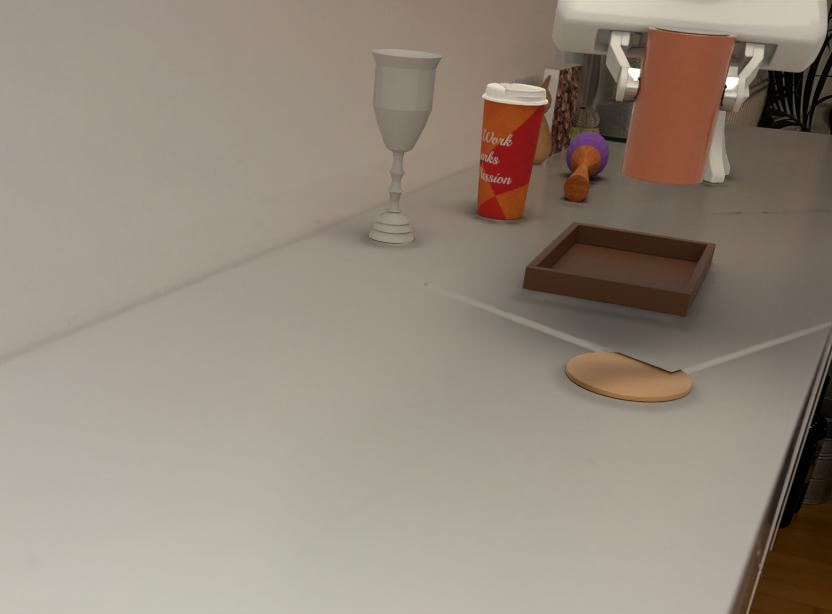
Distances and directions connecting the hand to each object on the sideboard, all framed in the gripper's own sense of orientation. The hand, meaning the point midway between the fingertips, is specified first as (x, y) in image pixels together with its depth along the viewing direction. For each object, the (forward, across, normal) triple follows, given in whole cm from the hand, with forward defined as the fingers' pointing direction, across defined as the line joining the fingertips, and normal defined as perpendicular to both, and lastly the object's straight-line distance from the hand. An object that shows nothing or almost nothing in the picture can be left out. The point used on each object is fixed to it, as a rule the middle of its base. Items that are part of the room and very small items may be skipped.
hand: (677, 101), depth 82 cm
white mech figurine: (-47, -15, -75) cm, 90 cm away
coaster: (+18, 0, -9) cm, 20 cm away
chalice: (-8, +24, -35) cm, 43 cm away
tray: (-2, -1, -30) cm, 30 cm away
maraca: (-34, +3, -62) cm, 71 cm away
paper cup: (-19, +13, -47) cm, 52 cm away
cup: (+3, 0, -4) cm, 5 cm away
